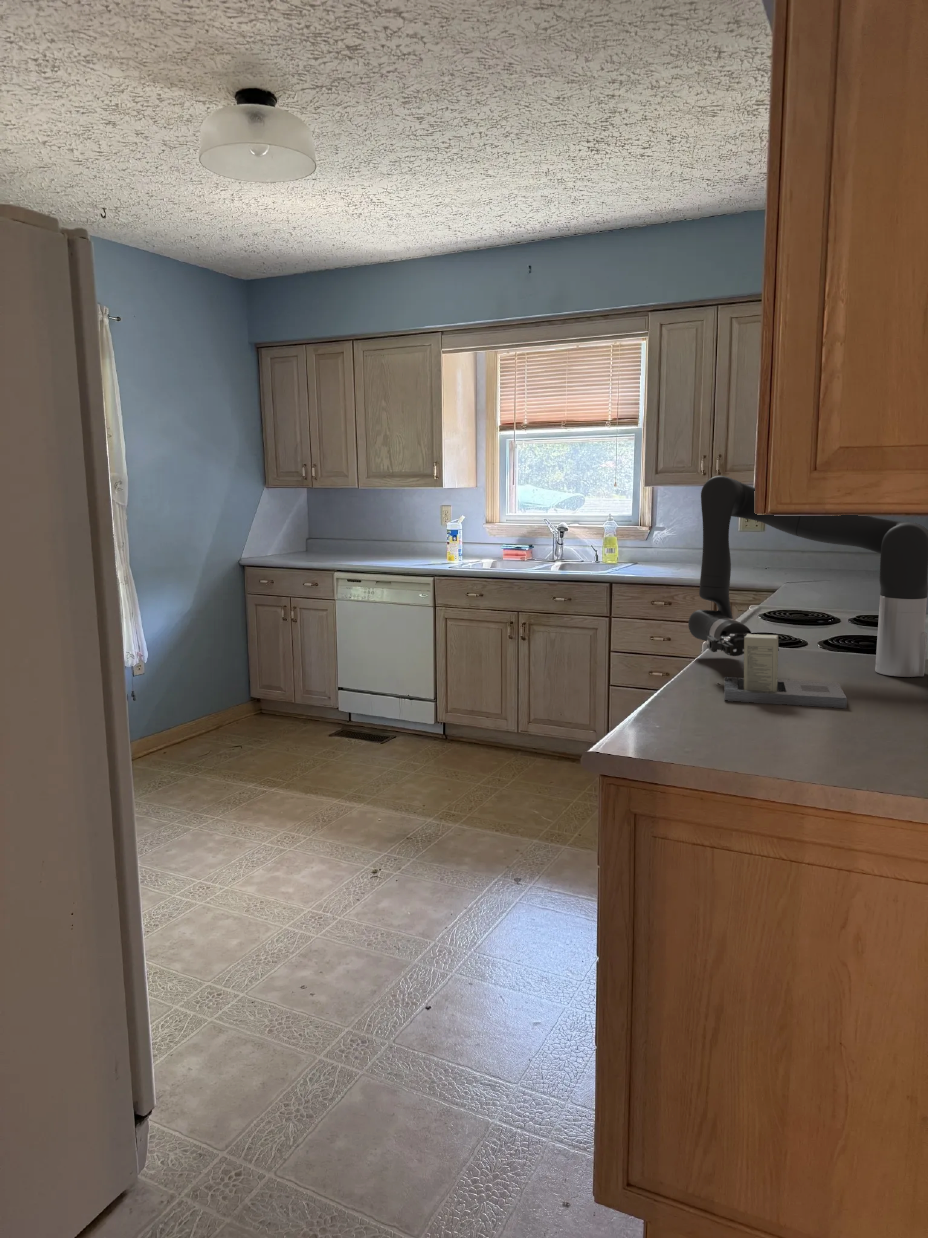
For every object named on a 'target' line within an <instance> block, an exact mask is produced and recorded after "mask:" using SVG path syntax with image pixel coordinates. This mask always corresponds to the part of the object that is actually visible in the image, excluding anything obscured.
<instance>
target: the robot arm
mask: <svg viewBox="0 0 928 1238" xmlns="http://www.w3.org/2000/svg"><path fill="white" fill-rule="evenodd" d="M755 488H756V487H753V486H751V485H748V484H745V483H743V482H741V481H739V480H736V479H734V478H732V477H728V476H725V475H715V476H713V477H711V478H709V479H708V480H706V481H705V483H704V485H703V486H702V488H701V492H700V505H701V506H700V507H701V518H702V557H701V568H700V578H699V591H698V592H699V597H700V598H701V599H703V600H705V601H709V602H712V603H715V604H716V606H717V610H712V609H696V610H695V611H693V613H691V614H690V616H689V618H688V624H687V625H688V629H689V633H690V634H691V635H692V636H693V637H694V638H695V639H698V640H702V641H705V642H706V647H707V649H708V650H710V651H711V653H716V652H718V651H720V653H723V654H726V655H728V656H731V657H739V656H742V655H744V637H745V636H746V635H747V634H753V633H752V631H751V630H750V628H749V627H748V626H747V625H745V624H743V623H742V622H740V621H737V620H736V619H734V617H733V613H732V608H731V603H730V584H731V573H732V572H731V571H732V562H731V560H732V559H731V551H730V540H729V539H730V538H729V537H730V536H729V535H730V524H731V519H732V517H734V518H741V519H747V520H752V521H757V522H760V523H762V524H765V525H766V526H767V525H768V526H769V527H772V528H774V529H777V530H779V531H780V532H784V533H786V534H789V535H792V536H796V537H799V538H804V539H807V540H809V541H810V540H811V541H815V542H819V543H825V544H830V545H837V546H838V545H839V546H840V545H841V546H849V547H857V548H862V549H864V550H868V551H872V552H874V553H877V554H880V558H879V559H880V560H879V561H880V563H879V564H880V565H879V587H880V590H879V605H878V607H879V609H878V625H877V635H876V636H877V637H876V639H877V640H876V651H875V653H876V654H875V662H874V663H875V668H874V670H875V672H876V673H878V674H880V675H884V676H891V677H904V678H910V677H911V678H913V677H915V678H916V677H924V676H925V669H926V667H925V666H926V653H927V641H928V640H927V638H928V633H926V620H927V619H926V618H927V604H928V603H927V602H928V529H927V527H925V526H924V525H922V524H919V523H916V522H910V521H909V522H908V521H900V520H894V519H893V520H891V519H886V518H880V517H876V516H875V517H874V516H871V515H868V516H858V515H841V516H774V515H757V514H755V513H754V491H755ZM779 646H780V639H778V652H779V651H780V649H779Z"/></svg>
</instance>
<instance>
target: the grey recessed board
mask: <svg viewBox="0 0 928 1238" xmlns="http://www.w3.org/2000/svg"><path fill="white" fill-rule="evenodd" d="M723 686H724V687H723V688H724V692H723V693H724V699H723V700H728V701H727V702H733V701H741V702H740V703H749V702H754V703H753V704H770V705H782V704H787V706H799V705H802V706H803V707H817V708H819V707H820V708H832V707H834V708H836V709H847V703H848V702H847V699H848V697H847V696H846V694H845V693H844V691H843V689H842V686H841V685H840V684H839V682H834V681H832V682H831V681H816V680H815V681H814V680H813V681H812V680H795V679H794V680H793V679H778V680H777V692H774V691H756V690H744V677H737V676H736V677H735V676H724V685H723Z"/></svg>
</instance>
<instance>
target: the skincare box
mask: <svg viewBox="0 0 928 1238" xmlns="http://www.w3.org/2000/svg"><path fill="white" fill-rule="evenodd" d="M778 640H779V635H778V634H758V633H757V634H755V633H752V634H747V635H746V636H745V637H744V654H743V678H744V689H743V690H756V691H774V692H778V691H777V680H779V679H778V678H779V677H778V676H779V675H778V671H779V664H778V663H779V651H778Z"/></svg>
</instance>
